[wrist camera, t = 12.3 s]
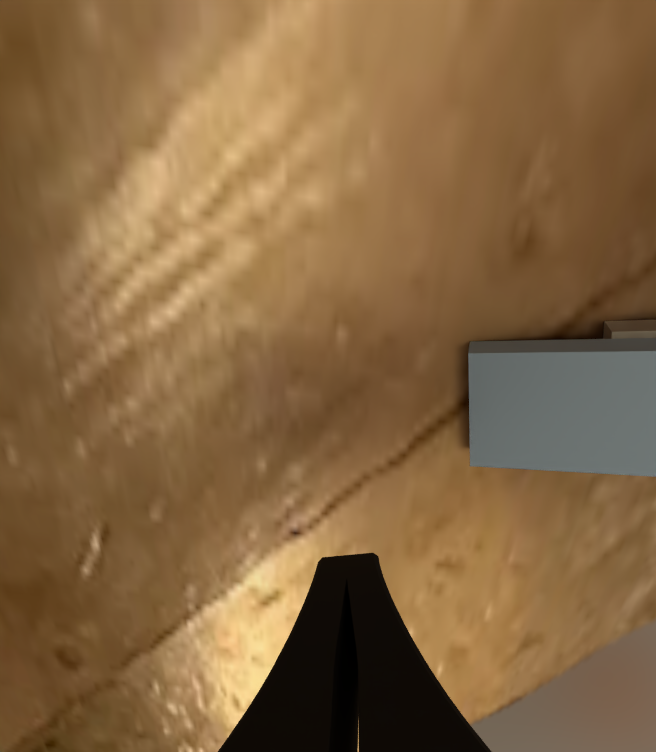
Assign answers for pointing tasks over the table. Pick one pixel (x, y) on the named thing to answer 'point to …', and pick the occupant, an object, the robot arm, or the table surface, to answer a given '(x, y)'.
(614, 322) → the domino
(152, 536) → the table surface
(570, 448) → the domino
